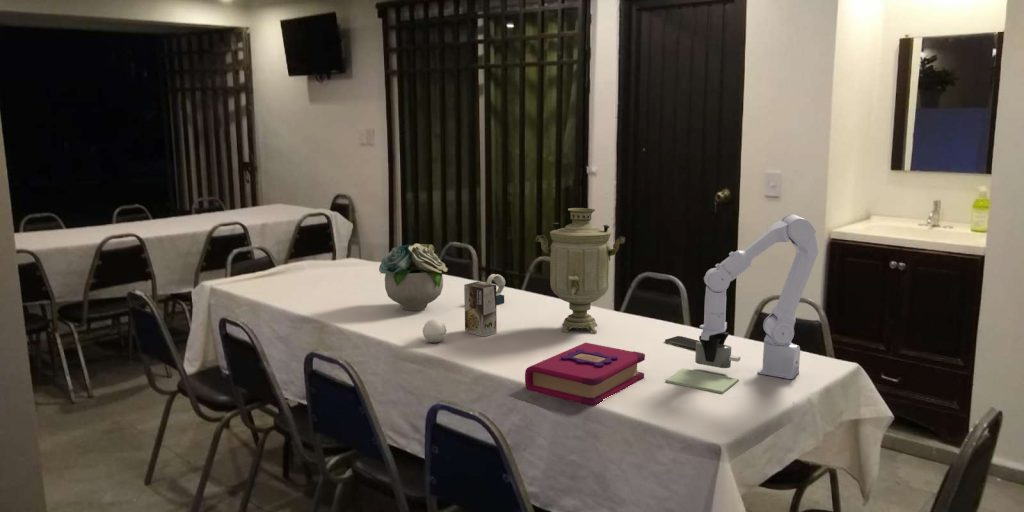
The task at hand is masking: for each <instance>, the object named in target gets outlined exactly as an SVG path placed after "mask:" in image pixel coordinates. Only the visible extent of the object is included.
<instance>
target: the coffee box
mask: <svg viewBox="0 0 1024 512" xmlns="http://www.w3.org/2000/svg"><path fill="white" fill-rule="evenodd" d="M463 287H464V289H463V291H464V292H463V293H464V296H463V297H464V332H465V333H468V334H472V335H477V336H480V337H487V336H491V335H495V334H497V331H498V330H497V310H498V309H497V305H496V292H497V287H498V286H497V284H492V283H491V284H488V283H486V282H481V281H474V282H470V283H466V284H464V285H463Z"/></svg>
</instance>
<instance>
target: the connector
mask: <svg viewBox="0 0 1024 512" xmlns="http://www.w3.org/2000/svg"><path fill="white" fill-rule="evenodd" d="M694 356H695V357H694V359H695V361H694V362H695V363H696V364H698V365H704V366H707V367H709V366H710V367H713V368H719V369H720V368H721V369H729V368H731V366H732V365H731V364H732V362H736V363H737V362H739V361H741V356H739V355H733V354H732V346H731V345H727V344H724V345H722V344H718V346H717V350H716V355H715V360H714V362H709V361H706V359H705V354H704V349H703V346H702V344H701V342H696V351H695V355H694Z"/></svg>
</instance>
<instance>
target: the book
mask: <svg viewBox="0 0 1024 512" xmlns="http://www.w3.org/2000/svg"><path fill="white" fill-rule="evenodd" d="M645 360H646V354H645V353H643V352H639V351H634V350H633V351H632V350H631V351H630V350H626V349H621V348H615V347H610V346H607V345H606V346H605V345H601V344H597V343H590V342H587V341H586V342H583V343H581V344H579V345H577V346H574V347H572V348H569V349H567V350H566V351H563V352H560V353H558V354H556V355H555V354H554V356H550V357H549V358H547V359H543V360H542V361H540V362H537V363H535V364H533V365H530V366H528V367H527V368H526V369H525V373H524V384H525V385H524V386H525V388H526V389H527V390H528V391H530V392H535V393H538V394H542V395H546V396H550V397H556V398H558V399H561V400H563V399H564V400H566V401H570V402H574V403H579V404H582V405H585V406H588V407H589V406H590V407H591V406H592V407H594V406H598V405H600V404H601V403H600V402H602V401H603V399H605V398H607V397H609V396H611V395H613V394H615V393H616V394H618V393H620V392H621V391H620V390H622V391H623V389H624V390H625V389H627V388H629V387H631V386H633V385H634V384H636V383H638V382H640V381H642V380H644V379H645V373H644V372H642V371H639V370H638V364H640V363H642V362H643V361H645ZM630 385H631V386H630ZM628 386H629V387H628ZM626 387H627V388H626ZM619 391H620V392H619ZM617 392H618V393H617ZM616 394H615V395H616ZM613 396H614V395H613ZM611 397H612V396H611ZM609 398H610V397H609ZM607 399H608V398H607ZM603 402H604V401H603ZM603 402H602V403H603ZM599 403H600V404H599ZM597 404H598V405H597Z"/></svg>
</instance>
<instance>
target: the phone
mask: <svg viewBox="0 0 1024 512" xmlns="http://www.w3.org/2000/svg"><path fill="white" fill-rule="evenodd" d="M696 342H700V340H699V339H698V340H697V339H693V338H690V337H686V336H683V335H682V336H681V335H677V336H673V337H670V338H666V339H664V343H666V344H668V345H672V346H676V347H680V348H683V349H687V350H691V351H695V352H696Z"/></svg>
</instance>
